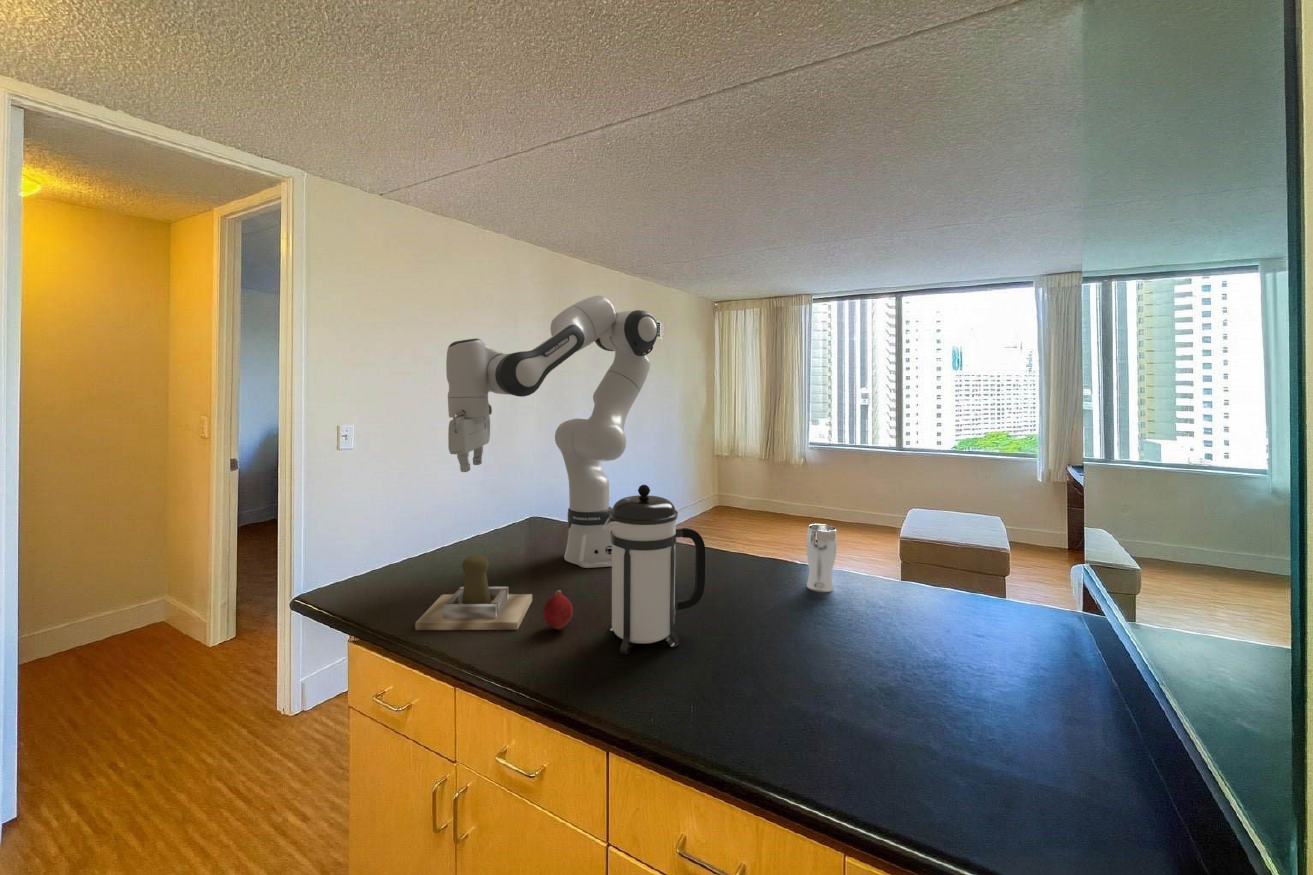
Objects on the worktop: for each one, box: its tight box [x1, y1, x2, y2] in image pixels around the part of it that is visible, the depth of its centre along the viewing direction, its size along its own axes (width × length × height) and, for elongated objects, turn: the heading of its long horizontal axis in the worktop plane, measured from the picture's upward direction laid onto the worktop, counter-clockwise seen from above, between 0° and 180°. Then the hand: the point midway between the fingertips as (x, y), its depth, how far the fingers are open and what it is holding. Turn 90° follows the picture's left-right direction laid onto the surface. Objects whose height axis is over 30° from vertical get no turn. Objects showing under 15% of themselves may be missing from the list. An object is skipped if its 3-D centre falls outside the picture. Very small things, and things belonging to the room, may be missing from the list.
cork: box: [461, 554, 491, 604], centre depth 109 cm, size 6×6×11 cm
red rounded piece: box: [542, 589, 574, 631], centre depth 103 cm, size 6×6×8 cm
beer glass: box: [806, 523, 838, 594], centre depth 125 cm, size 7×7×15 cm
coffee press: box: [603, 484, 706, 655], centre depth 99 cm, size 17×16×30 cm
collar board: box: [414, 586, 533, 631], centre depth 109 cm, size 20×14×4 cm
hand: (471, 468), depth 122 cm, fingers open, 8 cm apart
